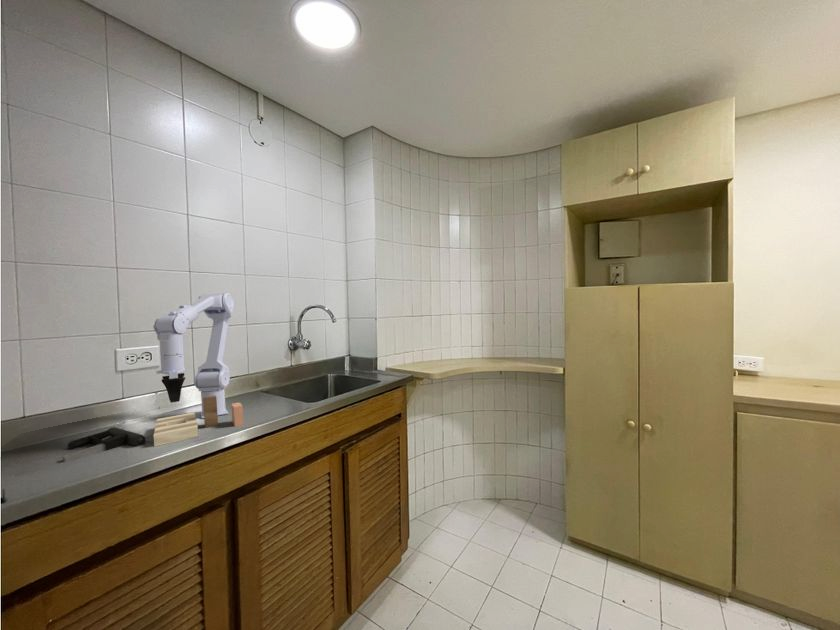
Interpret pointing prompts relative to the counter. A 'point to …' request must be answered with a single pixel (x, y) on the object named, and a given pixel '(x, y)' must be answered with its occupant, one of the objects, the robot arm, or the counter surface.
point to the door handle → (104, 442)
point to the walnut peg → (210, 411)
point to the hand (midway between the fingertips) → (174, 399)
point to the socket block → (175, 429)
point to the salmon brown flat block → (237, 414)
